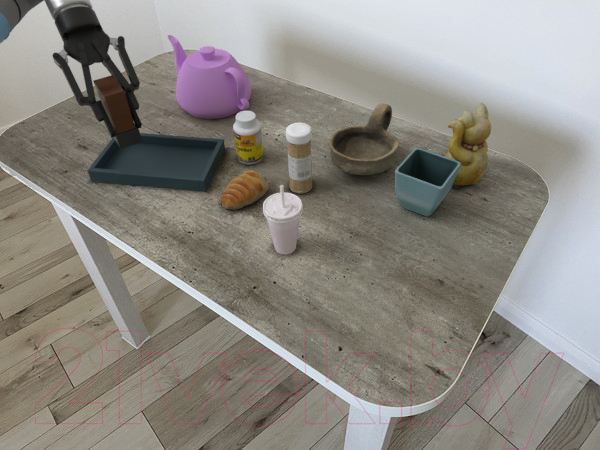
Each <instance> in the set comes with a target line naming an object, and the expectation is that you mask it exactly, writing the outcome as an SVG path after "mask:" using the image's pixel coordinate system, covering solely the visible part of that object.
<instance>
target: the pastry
mask: <svg viewBox="0 0 600 450" xmlns="http://www.w3.org/2000/svg"><path fill="white" fill-rule="evenodd" d="M268 190H269V185H268V183H267V181H266V180H265V179H264V177H263V176H262V174H261V173H259V172H257V171H255V170H253V169H251V170H250V169H247V170H244V171H243V173H241V174H239V175H238V176H236V177H235V178H233V179H232V180H231V181H230V182H229V184H228V185H227V186H226V187H225V189H224V191H223V193H222V195H221V197H220V199H221V206H222V207H223V208H225V209H227V210H235V211H236V210H240V209H242V208H244V207H246V206H250V205H252V204H253V203H255V202H257V201H259V199H260V198H262V197H264V195H266V193H267V191H268Z"/></svg>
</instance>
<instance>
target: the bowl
mask: <svg viewBox="0 0 600 450" xmlns="http://www.w3.org/2000/svg"><path fill="white" fill-rule="evenodd" d="M392 118H393V108H392V106H391V105H390V104H387V103H385V102H381V103H379V104H377V105H376V106H375V107H374V108H373V110H372V112H371V114H370V116H369V118H368V121H367V122H366V123H365V124H357V125H352V126H347V127H343V128H341V129H338V130H337V131H335V132H334V133H333V134H331V136H330V138H329V144H328V145H329V155H330V156H329V157H330V159H331V162H332V163H333V164H334V166H335V167H337V168H338V169H339V170H340V171H342V172H344V173H346V174H351V175H357V176H371V175H376V174H381V173H384V172H386V171H388V170H391V169H392V168H393V167H394V164H395V160H396V153H397V150H398V148H399V146H400V143H399V140H398V138H397V136H395V135H394V134H393V133H392V132H389V131H387V130H388V128H389V126H390V124H391V121H392Z"/></svg>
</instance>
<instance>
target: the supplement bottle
mask: <svg viewBox="0 0 600 450" xmlns="http://www.w3.org/2000/svg"><path fill="white" fill-rule="evenodd" d="M232 131H233V139H234V145H235V152H236V158H237V160H238V162H240V163H241V164H243V165H255V164H258V163H260V162H261V161H262V160H263V158H264V146H263V135H262V124H261V123H260V121H259V120H258V119H257V115H256V113H255V112H254V111H252V110H240V111H238V112H237V113H236V115H235V122H233V126H232Z"/></svg>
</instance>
